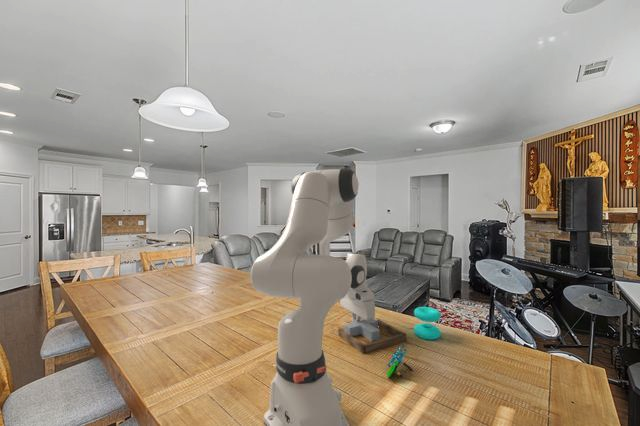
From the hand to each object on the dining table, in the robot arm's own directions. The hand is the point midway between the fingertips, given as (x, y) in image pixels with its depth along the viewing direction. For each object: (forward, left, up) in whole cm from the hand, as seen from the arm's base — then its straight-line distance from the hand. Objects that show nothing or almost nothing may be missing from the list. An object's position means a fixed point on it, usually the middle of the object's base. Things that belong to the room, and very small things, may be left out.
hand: (356, 323), depth 118 cm
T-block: (-7, 0, -2) cm, 7 cm away
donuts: (-18, -21, -2) cm, 28 cm away
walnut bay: (-9, 0, -2) cm, 10 cm away
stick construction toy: (-32, +6, -2) cm, 33 cm away
